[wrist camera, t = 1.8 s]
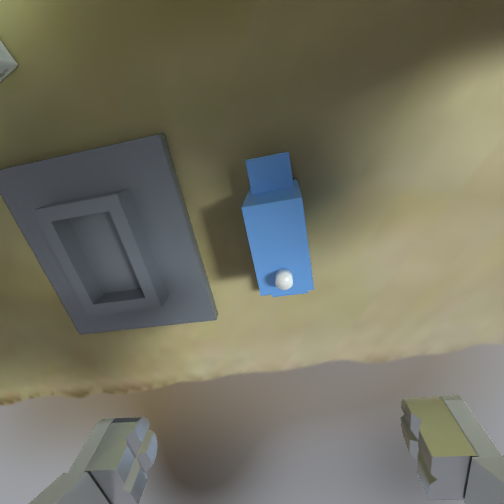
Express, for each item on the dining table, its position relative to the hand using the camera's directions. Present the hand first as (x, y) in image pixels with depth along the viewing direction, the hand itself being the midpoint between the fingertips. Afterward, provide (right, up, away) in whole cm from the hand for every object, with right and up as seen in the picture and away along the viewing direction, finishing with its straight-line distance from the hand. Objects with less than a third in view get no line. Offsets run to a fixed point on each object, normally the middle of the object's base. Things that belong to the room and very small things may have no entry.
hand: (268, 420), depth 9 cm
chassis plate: (-14, +6, +19) cm, 24 cm away
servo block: (+2, +8, +16) cm, 18 cm away
